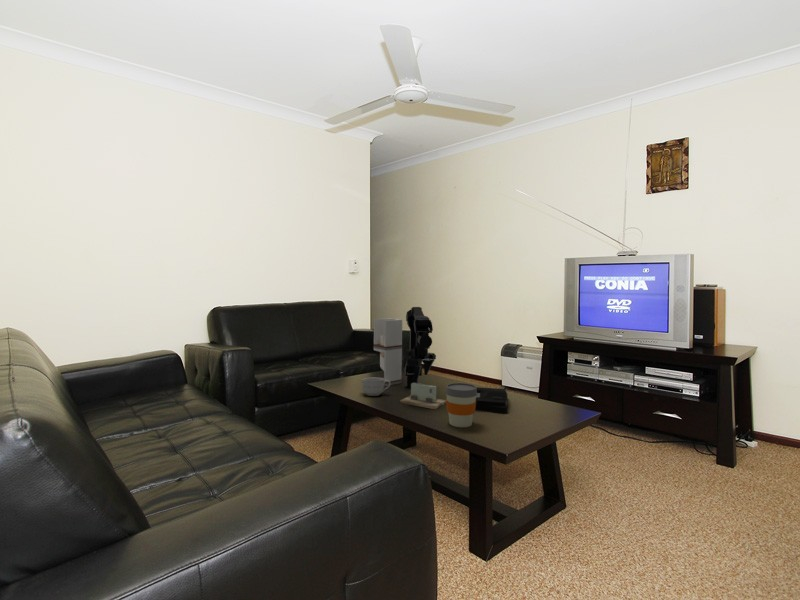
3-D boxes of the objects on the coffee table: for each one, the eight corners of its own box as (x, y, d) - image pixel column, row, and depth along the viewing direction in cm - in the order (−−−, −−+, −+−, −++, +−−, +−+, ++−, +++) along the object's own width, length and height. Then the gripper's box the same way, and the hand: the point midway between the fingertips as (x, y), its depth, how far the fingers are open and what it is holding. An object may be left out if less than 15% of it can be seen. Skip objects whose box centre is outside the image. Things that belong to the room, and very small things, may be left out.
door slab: (413, 397, 208) (413, 382, 208) (436, 401, 202) (436, 386, 201) (410, 398, 205) (410, 383, 205) (433, 402, 199) (433, 387, 199)
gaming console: (507, 415, 189) (508, 399, 188) (461, 411, 193) (462, 395, 193) (507, 398, 214) (507, 384, 214) (466, 395, 219) (467, 381, 218)
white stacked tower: (389, 379, 249) (390, 318, 247) (401, 382, 241) (402, 319, 239) (373, 382, 242) (373, 319, 240) (385, 386, 234) (385, 320, 232)
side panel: (413, 396, 214) (413, 390, 213) (446, 402, 204) (446, 396, 204) (400, 402, 203) (400, 395, 203) (435, 409, 194) (435, 402, 194)
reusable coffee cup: (477, 420, 180) (478, 384, 179) (474, 430, 168) (475, 391, 167) (447, 417, 184) (448, 381, 183) (442, 426, 171) (443, 389, 171)
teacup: (359, 396, 213) (359, 380, 212) (366, 391, 223) (366, 375, 223) (386, 398, 209) (387, 382, 209) (392, 393, 220) (392, 377, 220)
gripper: (416, 339, 217) (415, 370, 218) (396, 345, 201) (396, 378, 202) (436, 342, 211) (435, 373, 212) (418, 347, 195) (417, 382, 197)
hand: (421, 376), depth 206 cm, fingers open, 9 cm apart
